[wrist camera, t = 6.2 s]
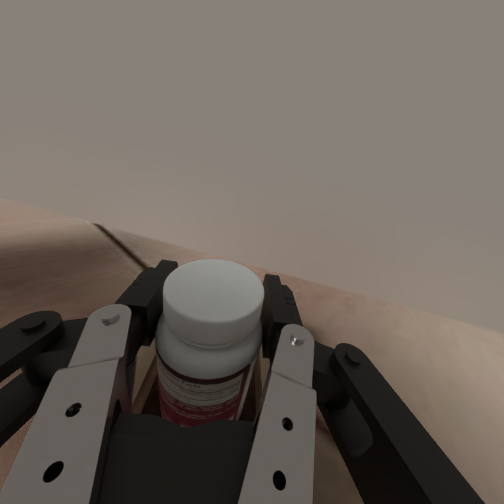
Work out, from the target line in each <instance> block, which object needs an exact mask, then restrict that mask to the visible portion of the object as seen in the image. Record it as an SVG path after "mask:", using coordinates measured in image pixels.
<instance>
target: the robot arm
mask: <svg viewBox="0 0 504 504" xmlns="http://www.w3.org/2000/svg"><path fill="white" fill-rule="evenodd" d="M176 268H178V264H177V262H176V261H169V260H161V261H160V263H159V264H158V265H157V267H156V268H152V267H150V268H148V269H146V270H144V271H143V272H141V273H140V275H139V276H138V277H137V278H136V280H134V282H133V283H132V285H130V286H129V287H128V288H127V290H126V291H125V292H124V293H123V294H122V295H121V297H120V298H119V299H118V300H117V301H116V302H115V304H112V305H107V306H104V307H102V308H99V309H98V310H96V311H95V312H93V313H92V314H91V315H90V316H89V318H84V319H75V320H67V321H62V318H61V315H60V314H59V313H57V312H55V311H39V312H35V313H31V314H28V315H25V316H23V317H21V318H19V319H17V320H15V321H13V322H12V323H10V324H8V325H6V326H5V327H3V328H1V329H0V382H2V381H3V380H4V379H6V378H7V377H8V376H10V375H11V374H12V373H14V372H15V371H16V370H18V369H19V368H21V370H22V373H21V374H20V375H18V376H17V377H16V378H14V379H13V380H12V381H10V382H9V383H8V384H6V385H5V386H4V387H3V388H1V389H0V447H1V446H2V445H3V444H4V443H5V442H6V441H7V440H8V439H9V438H10V437H11V436H12V435H13V434H15V433H16V432H17V431H18V430H19V429H20V428H21V427H22V426H23V425H24V424H25V423H26V422H27V421H28V420H29V419H30V418H31V417H32V416H33V415H34V414H35V413H36V415H35V417H34V419H33V421H32V424H31V426H30V428H29V430H28V432H27V435H26V437H25V439H24V441H23V443H22V446H21V448H20V450H19V452H18V454H17V457H16V459H15V461H14V463H13V465H12V467H11V470H10V472H9V474H8V476H7V478H6V481H5V483H4V485H3V487H2V489H1V492H0V504H312V502H313V476H314V450H315V424H316V403H317V405H318V407H319V409H320V411H321V413H322V415H323V417H324V419H325V422H326V424H327V426H328V428H329V430H330V432H331V434H332V436H333V439H334V441H335V443H336V445H337V447H338V449H339V451H340V453H341V455H342V458H343V460H344V462H345V464H346V466H347V468H348V470H349V472H350V474H351V477H352V479H353V481H354V483H355V485H356V487H357V489H358V491H359V494H360V496H361V498H362V500H363V502H364V504H485V503H484V502H483V501H482V500H481V498H480V497H479V496H478V495H477V493H476V492H475V491H474V490H473V488H472V487H471V486H470V485H469V483H468V482H467V481H466V480H465V478H464V477H463V476H462V475H461V473H460V472H459V471H458V470H457V468H456V467H455V466H454V465H453V463H452V462H451V461H450V460H449V458H448V457H447V456H446V455H445V453H444V452H443V451H442V450H441V448H440V447H439V446H438V445H437V443H436V442H435V441H434V440H433V438H432V437H431V436H430V435H429V433H428V432H427V431H426V430H425V428H424V427H423V426H422V425H421V423H420V422H419V421H418V420H417V418H416V417H415V416H414V415H413V413H412V412H411V411H410V410H409V408H408V407H407V406H406V405H405V403H404V402H403V401H402V400H401V399H400V397H399V396H398V395H397V394H396V392H395V391H394V390H393V389H392V387H391V386H390V385H389V384H388V382H387V381H386V380H385V379H384V377H383V376H382V375H381V374H380V372H379V371H378V370H377V369H376V367H375V366H374V365H373V364H372V362H371V361H370V360H369V359H368V357H367V356H366V355H365V354H364V353H363V352H362V351H361V350H360V349H358V348H357V347H355V346H353V345H350V344H346V343H341V344H338V345H337V346H336V348H335V349H333V348H330V347H327V346H325V345H322V344H320V343H318V342H316V341H314V338H313V336H312V335H311V333H310V332H309V331H308V330H307V329H305V328H304V327H303V325H302V322H301V318H300V315H299V312H298V309H297V306H296V302H295V300H294V296H293V293H292V291H291V290H290V289H289V287H288V286H286V285H281V282H280V278H279V276H278V275H270V274H266V275H265V277H264V281H263V287H264V300H263V305H262V310H261V316H260V320H261V324H262V354H263V358H268V359H269V360H270V367H269V370H268V373H267V377H266V380H265V384H264V388H263V391H262V395H261V398H260V402H259V406H258V409H257V413H256V416H255V419H254V423H253V421H241V420H226V419H221V420H217V421H213V422H209V423H205V424H200V425H196V426H192V427H183V426H180V425H178V424H175V423H173V422H171V421H168V420H166V419H163V418H161V417H159V416H156V415H150V414H135V413H132V398H133V390H134V381H135V373H136V365H137V353H138V351H139V349H140V347H141V346H149V347H150V345H151V343H152V341H153V339H154V337H155V331H156V327H157V324H158V321H159V318H160V316H161V314H162V313H163V287H164V283H165V280H166V279H167V277H168V276H169V275H170V273H171V272H173V271H174V270H175V269H176Z"/></svg>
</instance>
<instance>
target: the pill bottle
mask: <svg viewBox="0 0 504 504" xmlns="http://www.w3.org/2000/svg"><path fill="white" fill-rule="evenodd" d="M263 300H264V287H263V284H262V282H261V280H260V279H259V277H258V276H257V275H256V274H255V273H253V272H252V271H251V270H250V269H248V268H246V267H244V266H242V265H240V264H238V263H235V262H231V261H227V260H221V259H203V260H197V261H192V262H189V263H186V264H183V265H181V266H180V267H178V268H176V269H175V270H174V271H173V272H171V273H170V275H169V276H168V277H167V279H166V280H165V283H164V287H163V313H162V314H161V316H160V318H159V321H158V324H157V327H156V331H155V348H156V359H157V370H158V385H159V397H160V408H161V416H162V418H163V419H166V420H168V421H171V422H173V423H175V424H178V425H180V426H183V427H192V426H196V425H200V424H205V423H209V422H213V421H217V420H221V419H226V420H238V419H239V417H240V415H241V412H242V409H243V406H244V403H245V399H246V396H247V392H248V388H249V385H250V381H251V377H252V374H253V370H254V367H255V364H256V360H257V357H258V354H259V351H260V347H261V344H262V324H261V320H260V316H261V310H262V305H263Z"/></svg>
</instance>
